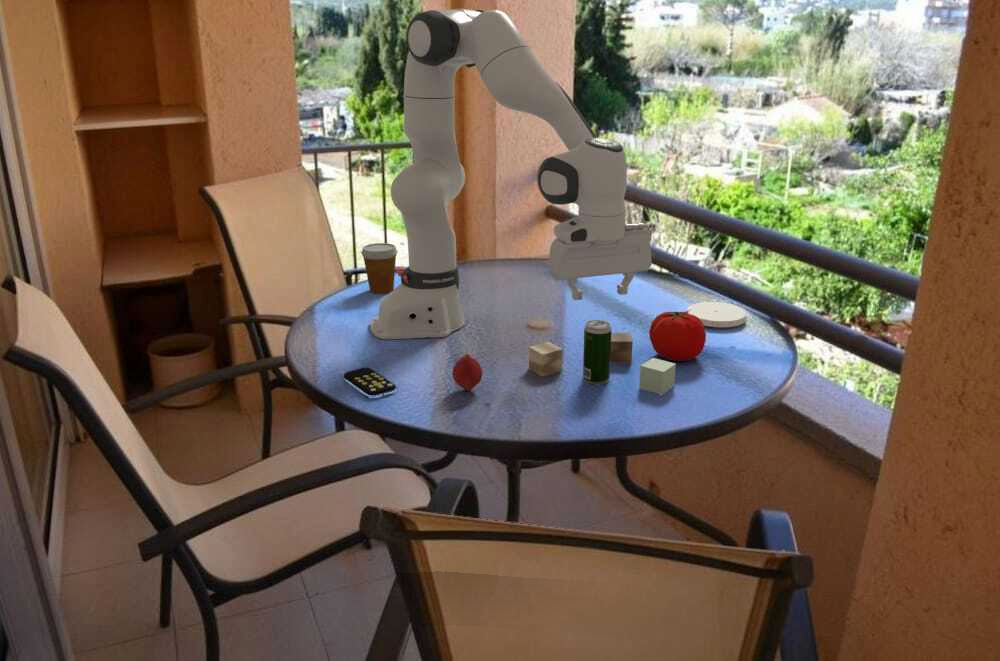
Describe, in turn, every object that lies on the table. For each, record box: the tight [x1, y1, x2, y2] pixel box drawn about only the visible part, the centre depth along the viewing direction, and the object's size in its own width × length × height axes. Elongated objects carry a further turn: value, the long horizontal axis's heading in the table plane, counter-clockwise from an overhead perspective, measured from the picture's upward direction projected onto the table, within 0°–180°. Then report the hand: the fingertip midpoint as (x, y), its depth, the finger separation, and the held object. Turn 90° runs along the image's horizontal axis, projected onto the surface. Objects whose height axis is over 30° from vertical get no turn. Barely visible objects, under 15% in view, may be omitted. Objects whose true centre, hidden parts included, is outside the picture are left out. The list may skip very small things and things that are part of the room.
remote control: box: [343, 366, 397, 396], centre depth 168 cm, size 6×13×2 cm, turn 36°
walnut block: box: [610, 332, 633, 364], centre depth 179 cm, size 5×5×5 cm
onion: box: [452, 352, 483, 392], centre depth 164 cm, size 6×6×8 cm
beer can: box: [582, 319, 613, 386], centre depth 167 cm, size 5×5×12 cm
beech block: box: [528, 341, 564, 377], centre depth 174 cm, size 5×5×5 cm
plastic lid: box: [685, 301, 748, 328], centre depth 202 cm, size 14×14×2 cm
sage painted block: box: [638, 357, 677, 395], centre depth 165 cm, size 5×5×5 cm
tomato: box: [648, 309, 707, 362], centre depth 179 cm, size 12×12×10 cm
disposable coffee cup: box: [360, 242, 398, 295], centre depth 224 cm, size 10×10×12 cm
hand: (599, 296), depth 163 cm, fingers open, 8 cm apart
